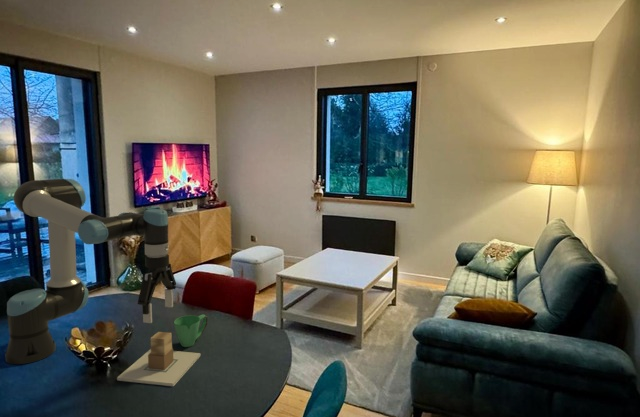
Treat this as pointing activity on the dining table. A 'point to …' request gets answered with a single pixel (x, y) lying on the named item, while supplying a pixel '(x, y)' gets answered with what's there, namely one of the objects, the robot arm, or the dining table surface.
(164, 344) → the oak block
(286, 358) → the dining table surface
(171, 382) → the cream square board
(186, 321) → the mug
